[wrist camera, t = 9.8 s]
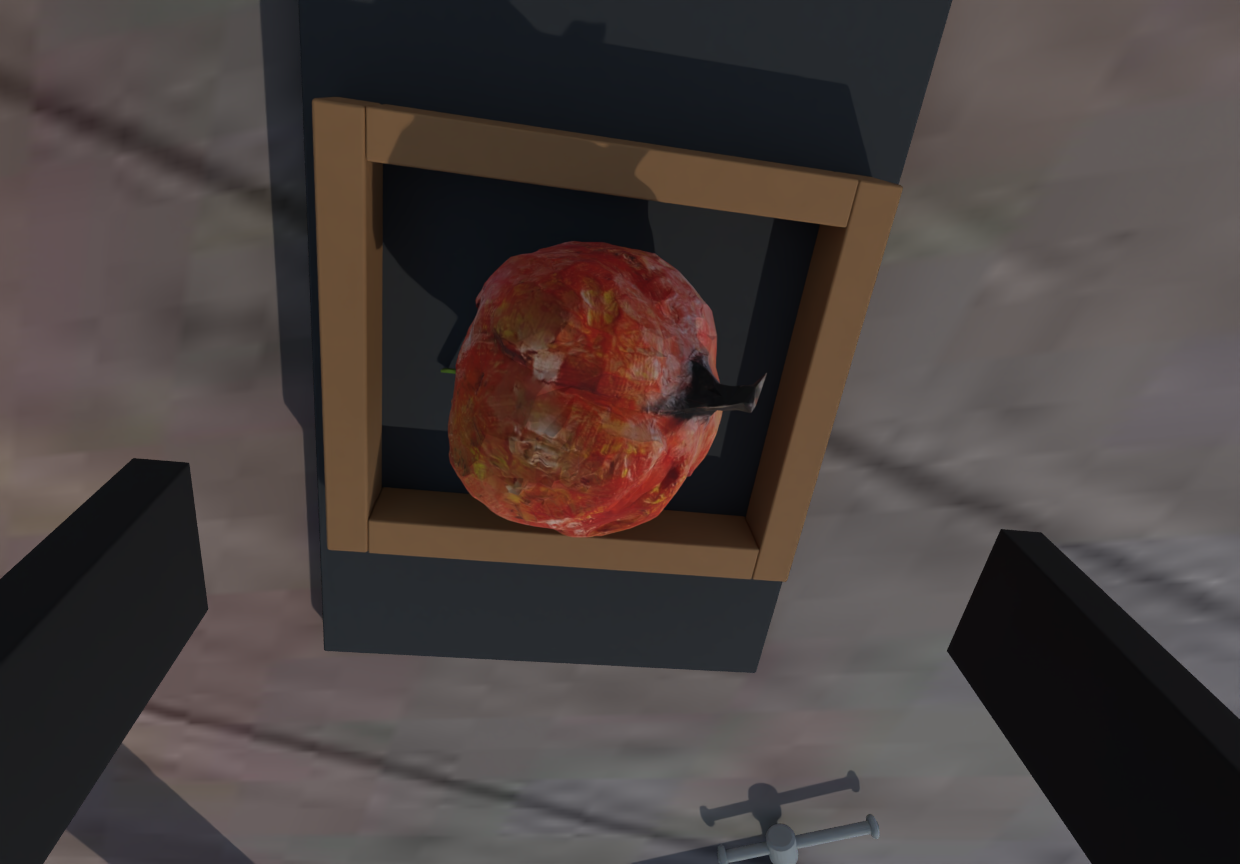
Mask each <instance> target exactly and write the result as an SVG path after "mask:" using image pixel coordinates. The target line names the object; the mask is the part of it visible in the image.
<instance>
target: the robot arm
mask: <svg viewBox="0 0 1240 864" xmlns="http://www.w3.org/2000/svg"><path fill="white" fill-rule="evenodd" d="M207 610H208V604H207V596H206V588H205V581H204V573H203V566H202V558H201V550H200V543H199V535H198V527H197V520H196V512H195V504H194V497H193V489H192V481H191V474H190V466H189V463H185V462H173V461H161V460H149V459H136V458H133V459H132V460H131V461H130V462H129V463H127V464H126V465H125V466H124V467H123V468H122V469H121V470H120V471H119V472H118V473H116V474H115V475H114V476H113V477H112V478H111V479H110V480H109V481H108V482H107V483H105V484H104V485H103V486H102V487H101V488H100V489H99V490H98V491H97V492H96V493H94V494H93V495H92V496H91V497H90V498H89V499H88V500H87V501H86V502H85V503H83V504H82V505H81V506H80V507H79V508H78V509H77V510H76V511H75V512H74V513H72V514H71V515H70V516H69V517H68V518H67V519H66V520H65V521H64V522H63V523H61V524H60V525H59V526H58V527H57V528H56V529H55V530H54V531H53V532H52V533H50V534H49V535H48V536H47V537H46V538H45V539H44V540H43V541H42V542H41V543H39V544H38V545H37V546H36V547H35V548H34V549H33V550H32V551H31V552H30V553H28V554H27V555H26V556H25V557H24V558H23V559H22V560H21V561H20V562H19V563H17V564H16V565H15V566H14V567H13V568H12V569H11V570H10V571H9V572H8V573H6V574H5V575H4V576H3V577H2V578H1V579H0V864H43V863H44V862H45V860H46V859H47V857H48V855H49V854H50V852H51V851H52V849H53V848H54V846H55V845H56V843H57V842H58V840H59V838H60V837H61V835H62V834H63V832H64V831H65V829H66V828H67V826H68V825H69V823H70V822H71V820H72V818H73V817H74V815H75V814H76V812H77V811H78V809H79V808H80V806H81V805H82V803H83V801H84V800H85V798H86V797H87V795H88V794H89V792H90V791H91V789H92V788H93V786H94V785H95V783H96V781H97V780H98V778H99V777H100V775H101V774H102V772H103V771H104V769H105V768H106V766H107V765H108V763H109V761H110V760H111V758H112V757H113V755H114V754H115V752H116V751H117V749H118V748H119V746H120V744H121V743H122V741H123V740H124V738H125V737H126V735H127V734H128V732H129V731H130V729H131V728H132V726H133V724H134V723H135V721H136V720H137V718H138V717H139V715H140V714H141V712H142V711H143V709H144V707H145V706H146V704H147V703H148V701H149V700H150V698H151V697H152V695H153V694H154V692H155V691H156V689H157V687H158V686H159V684H160V683H161V681H162V680H163V678H164V677H165V675H166V674H167V672H168V671H169V669H170V667H171V666H172V664H173V663H174V661H175V660H176V658H177V657H178V655H179V654H180V652H181V650H182V649H183V647H184V646H185V644H186V643H187V641H188V640H189V638H190V637H191V635H192V634H193V632H194V630H195V629H196V627H197V626H198V624H199V623H200V621H201V620H202V618H203V617H204V615H205V613H206V612H207ZM947 652H948V653H949V655H950V656H951V658H952V659H953V660H954V662H955V663H956V665H957V666H958V668H959V669H960V671H961V672H962V674H963V675H964V677H965V678H966V680H967V681H968V683H969V684H970V685H971V687H972V688H973V690H974V691H975V693H976V694H977V696H978V697H979V699H980V700H981V702H982V703H983V705H984V706H985V708H986V709H987V710H988V712H989V713H990V715H991V716H992V718H993V719H994V721H995V722H996V724H997V725H998V727H999V728H1000V730H1001V731H1002V733H1003V734H1004V735H1005V737H1006V738H1007V740H1008V741H1009V743H1010V744H1011V746H1012V747H1013V749H1014V750H1015V752H1016V753H1017V755H1018V756H1019V758H1020V759H1021V760H1022V762H1023V763H1024V765H1025V766H1026V768H1027V769H1028V771H1029V772H1030V774H1031V775H1032V777H1033V778H1034V780H1035V781H1036V783H1037V784H1038V785H1039V787H1040V788H1041V790H1042V791H1043V793H1044V794H1045V796H1046V797H1047V799H1048V800H1049V802H1050V803H1051V805H1052V806H1053V808H1054V809H1055V810H1056V812H1057V813H1058V815H1059V816H1060V818H1061V819H1062V821H1063V822H1064V824H1065V825H1066V827H1067V828H1068V830H1069V831H1070V832H1071V834H1072V835H1073V837H1074V838H1075V840H1076V841H1077V843H1078V844H1079V846H1080V847H1081V849H1082V850H1083V852H1084V853H1085V855H1086V856H1087V857H1088V859H1089V860H1090V862H1091V863H1092V864H1240V719H1239V718H1238V717H1237V716H1236V715H1234V714H1233V713H1232V712H1231V711H1230V710H1229V709H1228V708H1227V707H1226V706H1225V705H1224V704H1223V703H1222V702H1221V701H1220V700H1219V699H1217V698H1216V697H1215V696H1214V695H1213V694H1212V693H1211V692H1210V691H1209V690H1208V689H1207V688H1206V687H1205V686H1204V685H1203V684H1202V683H1200V682H1199V681H1198V680H1197V679H1196V678H1195V677H1194V676H1193V675H1192V674H1191V673H1190V672H1189V671H1188V670H1187V669H1186V668H1185V667H1184V666H1182V665H1181V664H1180V663H1179V662H1178V661H1177V660H1176V659H1175V658H1174V657H1173V656H1172V655H1171V654H1170V653H1169V652H1168V651H1167V650H1165V649H1164V648H1163V647H1162V646H1161V645H1160V644H1159V643H1158V642H1157V641H1156V640H1155V639H1154V638H1153V637H1152V636H1151V635H1150V634H1148V633H1147V632H1146V631H1145V630H1144V629H1143V628H1142V627H1141V626H1140V625H1139V624H1138V623H1137V622H1136V621H1135V620H1134V619H1133V618H1131V617H1130V616H1129V615H1128V614H1127V613H1126V612H1125V611H1124V610H1123V609H1122V608H1121V607H1120V606H1119V605H1118V604H1117V603H1116V602H1114V601H1113V600H1112V599H1111V598H1110V597H1109V596H1108V595H1107V594H1106V593H1105V592H1104V591H1103V590H1102V589H1101V588H1100V587H1099V586H1097V585H1096V584H1095V583H1094V582H1093V581H1092V580H1091V579H1090V578H1089V577H1088V576H1087V575H1086V574H1085V573H1084V572H1083V571H1082V570H1080V569H1079V568H1078V567H1077V566H1076V565H1075V564H1074V563H1073V562H1072V561H1071V560H1070V559H1069V558H1068V557H1067V556H1066V555H1065V554H1063V553H1062V552H1061V551H1060V550H1059V549H1058V548H1057V547H1056V546H1055V545H1054V544H1053V543H1052V542H1051V541H1050V540H1049V539H1048V538H1047V537H1045V536H1044V535H1043V534H1042V533H1041V532H1029V531H1017V530H1004V529H1001V530H1000V532H999V535H998V537H997V539H996V541H995V544H994V546H993V548H992V550H991V553H990V555H989V557H988V559H987V562H986V564H985V566H984V568H983V571H982V573H981V575H980V577H979V580H978V582H977V584H976V586H975V589H974V591H973V593H972V595H971V598H970V600H969V602H968V604H967V607H966V609H965V611H964V613H963V616H962V618H961V620H960V622H959V625H958V627H957V629H956V631H955V634H954V636H953V638H952V640H951V643H950V645H949V647H948V649H947Z"/></svg>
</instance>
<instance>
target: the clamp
mask: <svg viewBox="0 0 1240 864" xmlns="http://www.w3.org/2000/svg"><path fill="white" fill-rule="evenodd" d="M867 834H871V836H872V837H873V838H875V839H877V838H879V835H880V834H879V825H878V823H877V821H876V820H875V818H874V816H873V815H871V814H868V815H867V816H866V821H863V822H858V823H853V824H849V825H844V826H839V827H834V828H829V829H824V830H819V831H814V832H810V833H805V834H800V835H795V834H794V832H793V830H792V829H791V828H790V827H789V826H787V825H785V824H775V825H772V826H771V827H770V828H769V829H768V830H767V832H766V842H761V843H756V844H751V845H746V846H741V847H737V848H732V849H727V850H725V847H724V846H723V845H719V846H718V853H717V856H718V861H719V863H720V864H728V863H730V862H735V861H740V860H745V859H750V858H755V857H760V856H765V855H769V857H770V860H771V862H772V863H773V864H795V863H796V862H797V860H798V850H797V849H799V848H804V847H809V846H813V845H818V844H823V843H828V842H833V841H838V840H843V839H848V838H852V837H857V836H862V835H867Z"/></svg>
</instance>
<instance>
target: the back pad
mask: <svg viewBox="0 0 1240 864" xmlns="http://www.w3.org/2000/svg"><path fill="white" fill-rule="evenodd" d="M951 3H952V0H299V23H300V48H301V74H302V99H303V125H304V150H305V175H306V201H307V226H308V252H309V277H310V302H311V328H312V353H313V378H314V404H315V429H316V455H317V480H318V505H319V531H320V556H321V582H322V607H323V632H324V650H325V651H339V652H359V653H378V654H398V655H417V656H436V657H456V658H475V659H495V660H514V661H534V662H553V663H573V664H592V665H611V666H631V667H650V668H670V669H689V670H709V671H728V672H748V673H755V672H756V670H757V666H758V663H759V660H760V656H761V653H762V649H763V646H764V642H765V639H766V636H767V632H768V629H769V625H770V622H771V619H772V615H773V612H774V608H775V605H776V601H777V598H778V595H779V591H780V588H781V584H782V581H783V582H786V581H787V579H788V575H789V572H790V569H791V565H792V562H793V558H794V555H795V552H796V548H797V545H798V541H799V538H800V535H801V531H802V528H803V525H804V521H805V518H806V514H807V511H808V508H809V504H810V501H811V497H812V494H813V491H814V487H815V484H816V481H817V477H818V474H819V470H820V467H821V464H822V460H823V457H824V454H825V450H826V447H827V443H828V440H829V437H830V433H831V430H832V426H833V423H834V420H835V416H836V413H837V410H838V406H839V403H840V399H841V396H842V393H843V389H844V386H845V382H846V379H847V376H848V372H849V369H850V366H851V362H852V359H853V355H854V352H855V349H856V345H857V342H858V338H859V335H860V332H861V328H862V325H863V322H864V318H865V315H866V311H867V308H868V305H869V301H870V298H871V294H872V291H873V288H874V284H875V281H876V278H877V274H878V271H879V267H880V264H881V261H882V257H883V254H884V250H885V247H886V244H887V240H888V237H889V234H890V230H891V227H892V223H893V220H894V217H895V213H896V210H897V207H898V203H899V200H900V196H901V193H902V190H903V187H902V186H901V185H898V184H899V181H900V177H901V174H902V171H903V167H904V164H905V160H906V157H907V153H908V150H909V147H910V143H911V140H912V136H913V133H914V130H915V126H916V123H917V119H918V116H919V112H920V109H921V106H922V102H923V99H924V95H925V92H926V88H927V85H928V82H929V78H930V75H931V71H932V68H933V65H934V61H935V58H936V54H937V51H938V47H939V44H940V41H941V37H942V34H943V30H944V27H945V24H946V20H947V17H948V13H949V10H950V6H951ZM571 241H578V242H605V243H609V244H611V245H616V246H621V247H626V248H631V249H638V250H642V251H646V252H651V253H655V254H656V255H658V256H659V257H660V258H661V259H663V260H664V261H666V262H667V263H668V264H670V265H671V266H673V267H674V268H675V269H677V270H678V271H679V272H680V273H681V274H682V275H683V276H684V277H685V278H686V279H687V281H688V282H689V283H690V284H691V285H692V286H693V287H694V289H695V290H696V291H697V293H698V294H699V295H700V297H701V298H702V299H703V301H704V302H705V303H706V304H707V305H708V306H709V307H710V309H711V310H712V314H713V318H714V323H715V328H716V333H717V351H716V370H717V374H718V377H719V381H720V384H724V385H728V386H740V385H753V384H754V383H755V382H756V381H757V380H759V379H760V378H761V377H762V376H763V375H765V374H766V373H767V374H766V377H765V380H764V383H763V387H762V390H761V393H760V395H759V398H758V401H757V404H756V406H755V408H754V409H753V411H752V412H751V413H749V412H744V411H740V410H731V411H723V412H722V417H721V420H720V423H719V427H718V430H717V433H716V436H715V438H714V440H713V443H712V445H711V447H710V449H709V451H708V453H707V455H706V456H705V458H704V459H703V460H702V461H701V463H700V464H699V465H698V466H697V467H696V469H695V470H694V471H693V473H692V474H691V476H688V477H686V479H685V481H684V482H683V484H682V485H681V487H680V488H679V490H678V491H677V492H676V494H675V495H674V496H673V498H672V499H671V500H670V501H669V503H668V504H667V505H666V507H665V508H664V509H663V510H662V512H661V513H660V514H659V515H658V516H657V517H655V518H653V519H652V520H650V521H647V522H645V523H642V524H640V525H637V526H635V527H632V528H630V529H626V530H622V531H618V532H615V533H611V534H607V535H603V536H593V537H583V538H580V537H569V536H566V535H563V534H561V533H560V532H558V531H556V530H554V529H550V528H543V527H535V526H530V525H525V524H521V523H517V522H513V521H509V520H507V519H505V518H503V517H501V516H498V515H497V514H495V513H494V512H492V511H491V510H489V509H488V508H487V506H486V505H485V504H483V503H482V502H480V501H479V500H477V499H476V498H474V497H472V495H471V494H470V493H469V492H468V490H467V489H466V488H465V486H464V484H463V483H462V481H461V479H460V478H459V477H458V475H457V474H456V472H455V470H454V468H453V467H452V465H451V463H450V459H449V452H450V446H449V437H448V421H449V415H450V411H451V406H452V404H451V400H452V399H453V393H454V386H455V377H456V374H452V373H443V372H441V369H444V368H454V369H456V362H457V359H458V355H459V351H460V349H461V346H462V344H463V342H464V339H465V337H466V335H467V332H468V329H469V327H470V326H471V324H472V322H473V320H474V319H475V316H476V314H477V311H478V308H477V307H476V298H477V296H478V294H479V293H480V292H481V290H482V288H483V286H484V284H485V282H486V281H487V280H488V279H489V277H490V276H491V275H492V274H493V273H494V272H495V271H496V270H497V269H498V268H499V267H500V266H501V265H502V264H503V263H504V262H505V261H507V260H508V259H509V258H510V257H513V256H517V255H521V254H528V253H534V252H536V251H538V250H539V249H543V248H547V247H551V246H554V245H558V244H562V243H565V242H571Z"/></svg>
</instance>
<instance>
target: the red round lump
mask: <svg viewBox="0 0 1240 864" xmlns="http://www.w3.org/2000/svg"><path fill="white" fill-rule="evenodd" d="M476 307H477V308H478V311H477V314H476V316H475V319H474V320H473V322H472V324H471V326H470V327H469V329H468V332H467V335H466V337H465V339H464V342H463V344H462V346H461V349H460V351H459V355H458V359H457V362H456V369H454V368H444V369H441V372H443V373H452V374H456V377H455V386H454V393H453V399H452V400H451V404H452V406H451V411H450V415H449V421H448V437H449V446H450V452H449V459H450V463H451V465H452V467H453V468H454V470H455V472H456V474H457V475H458V477H459V478H460V479H461V481H462V483H463V484H464V486H465V488H466V489H467V490H468V492H469V493H470V494H471V495H472V497H474V498H476V499H477V500H479V501H480V502H482V503H483V504H485V505H486V506H487V508H488V509H489V510H491V511H492V512H494V513H495V514H497V515H498V516H501V517H503V518H505V519H507V520H509V521H513V522H517V523H521V524H525V525H530V526H535V527H543V528H550V529H554V530H556V531H558V532H560V533H561V534H563V535H566V536H569V537H580V538H583V537H593V536H603V535H607V534H611V533H615V532H618V531H622V530H626V529H630V528H632V527H635V526H637V525H640V524H642V523H645V522H647V521H650V520H652V519H653V518H655V517H657V516H658V515H659V514H660V513H661V512H662V510H663V509H664V508H665V507H666V505H667V504H668V503H669V501H670V500H671V499H672V498H673V496H674V495H675V494H676V492H677V491H678V490H679V488H680V487H681V485H682V484H683V482H684V481H685V479H686V477H688V476H691V474H692V473H693V471H694V470H695V469H696V467H697V466H698V465H699V464H700V463H701V461H702V460H703V459H704V458H705V456H706V455H707V453H708V451H709V449H710V447H711V445H712V443H713V440H714V438H715V436H716V433H717V430H718V427H719V423H720V420H721V417H722V412H723V411H731V410H740V411H744V412H749V413H751V412H752V411H753V409H754V408H755V406H756V404H757V401H758V398H759V395H760V393H761V390H762V387H763V383H764V380H765V377H766V374H767V373H766V374H765V375H763V376H762V377H761V378H760V379H759V380H757V381H756V382H755V383H754V384H753V385H740V386H728V385H724V384H720V381H719V377H718V374H717V370H716V351H717V333H716V328H715V323H714V318H713V314H712V310H711V309H710V307H709V306H708V305H707V304H706V303H705V302H704V301H703V299H702V298H701V297H700V295H699V294H698V293H697V291H696V290H695V289H694V287H693V286H692V285H691V284H690V283H689V282H688V281H687V279H686V278H685V277H684V276H683V275H682V274H681V273H680V272H679V271H678V270H677V269H675V268H674V267H673V266H671V265H670V264H668V263H667V262H666V261H664V260H663V259H661V258H660V257H659V256H658V255H656V254H655V253H651V252H646V251H642V250H638V249H631V248H626V247H621V246H616V245H611V244H609V243H605V242H578V241H571V242H565V243H562V244H558V245H554V246H551V247H547V248H543V249H539V250H538V251H536V252H534V253H528V254H521V255H517V256H513V257H510V258H509V259H508V260H507V261H505V262H504V263H503V264H502V265H501V266H500V267H499V268H498V269H497V270H496V271H495V272H494V273H493V274H492V275H491V276H490V277H489V279H488V280H487V281H486V282H485V284H484V286H483V288H482V290H481V292H480V293H479V294H478V296H477V298H476Z"/></svg>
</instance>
